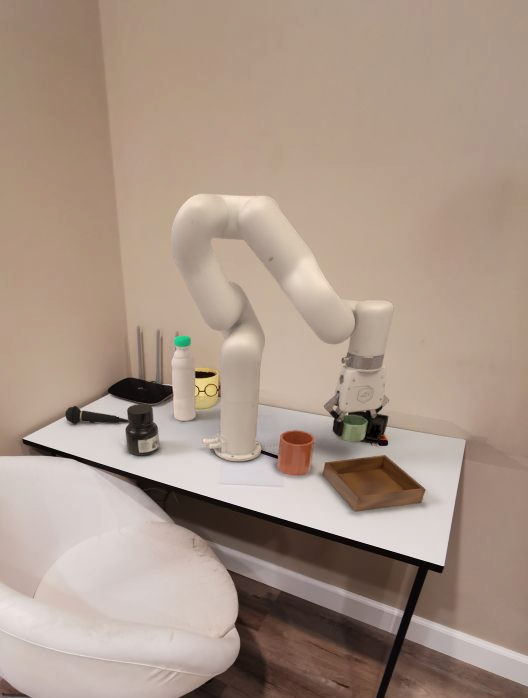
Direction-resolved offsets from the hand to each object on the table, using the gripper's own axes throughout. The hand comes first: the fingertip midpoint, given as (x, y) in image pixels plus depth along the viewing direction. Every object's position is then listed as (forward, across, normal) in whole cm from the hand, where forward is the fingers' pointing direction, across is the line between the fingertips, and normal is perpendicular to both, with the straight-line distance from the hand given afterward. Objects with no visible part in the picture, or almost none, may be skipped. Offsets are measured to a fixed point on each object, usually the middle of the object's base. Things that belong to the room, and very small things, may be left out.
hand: (351, 432), depth 106 cm
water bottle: (+8, -35, +36) cm, 51 cm away
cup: (+8, -14, -1) cm, 16 cm away
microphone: (+7, -63, +38) cm, 74 cm away
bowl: (+1, 0, 0) cm, 1 cm away
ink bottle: (+7, -50, +18) cm, 54 cm away
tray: (+8, -1, -13) cm, 16 cm away
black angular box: (+8, +11, +11) cm, 17 cm away
